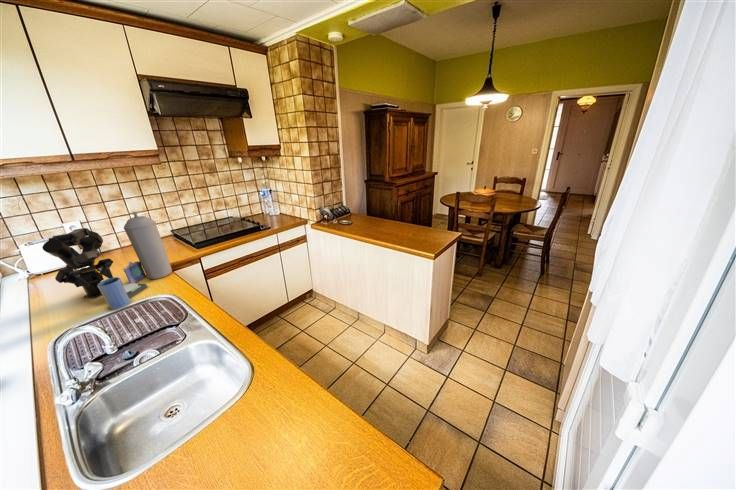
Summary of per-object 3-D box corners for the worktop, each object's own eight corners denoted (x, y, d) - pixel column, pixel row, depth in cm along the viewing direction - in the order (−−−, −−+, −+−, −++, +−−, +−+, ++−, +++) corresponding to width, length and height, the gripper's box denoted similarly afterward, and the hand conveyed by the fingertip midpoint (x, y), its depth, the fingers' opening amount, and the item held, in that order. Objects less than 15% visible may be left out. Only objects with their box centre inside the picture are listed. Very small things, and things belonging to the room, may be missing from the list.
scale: (109, 298, 124) (106, 293, 123) (127, 287, 133) (125, 282, 132) (130, 298, 123) (127, 293, 122) (147, 287, 132) (145, 282, 130)
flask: (133, 284, 135) (124, 265, 131) (128, 284, 135) (119, 266, 131) (147, 275, 143) (139, 257, 139) (142, 275, 144) (134, 258, 139)
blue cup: (105, 309, 116) (92, 286, 111) (120, 299, 122) (109, 277, 117) (120, 309, 115) (107, 286, 110) (134, 299, 121) (124, 277, 117)
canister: (180, 269, 148) (157, 208, 134) (159, 281, 136) (132, 216, 123) (161, 268, 150) (137, 208, 137) (139, 280, 139) (110, 216, 125)
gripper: (52, 250, 104) (83, 276, 104) (104, 241, 122) (130, 263, 122) (42, 270, 106) (72, 295, 107) (94, 258, 125) (120, 280, 125)
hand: (101, 282), depth 115 cm, fingers open, 9 cm apart
